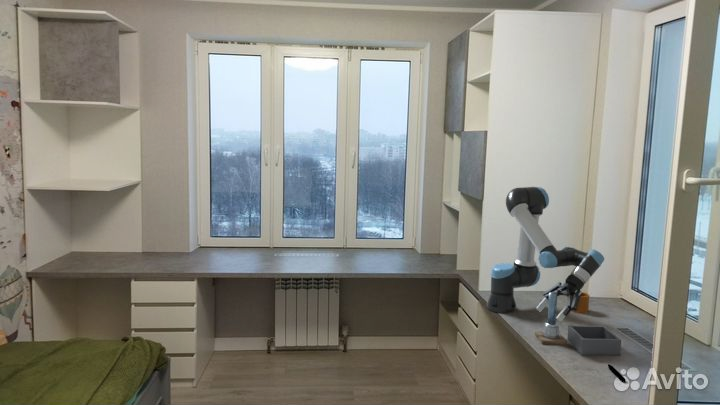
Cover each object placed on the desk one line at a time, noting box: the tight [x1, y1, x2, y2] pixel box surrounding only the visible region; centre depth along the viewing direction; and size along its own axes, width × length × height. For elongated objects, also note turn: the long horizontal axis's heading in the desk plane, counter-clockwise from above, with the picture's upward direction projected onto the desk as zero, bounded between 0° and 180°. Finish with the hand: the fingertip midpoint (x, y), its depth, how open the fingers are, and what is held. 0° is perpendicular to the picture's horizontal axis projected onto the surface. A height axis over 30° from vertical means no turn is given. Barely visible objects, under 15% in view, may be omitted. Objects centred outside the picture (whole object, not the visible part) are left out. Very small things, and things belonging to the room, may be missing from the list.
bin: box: [566, 325, 622, 357], centre depth 224 cm, size 16×16×7 cm
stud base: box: [534, 331, 569, 345], centre depth 233 cm, size 11×11×6 cm
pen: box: [607, 363, 627, 384], centre depth 199 cm, size 2×14×2 cm, turn 179°
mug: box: [571, 291, 590, 314], centre depth 274 cm, size 9×12×9 cm
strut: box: [543, 292, 560, 337], centre depth 232 cm, size 6×6×19 cm
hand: (547, 314), depth 232 cm, fingers open, 13 cm apart
